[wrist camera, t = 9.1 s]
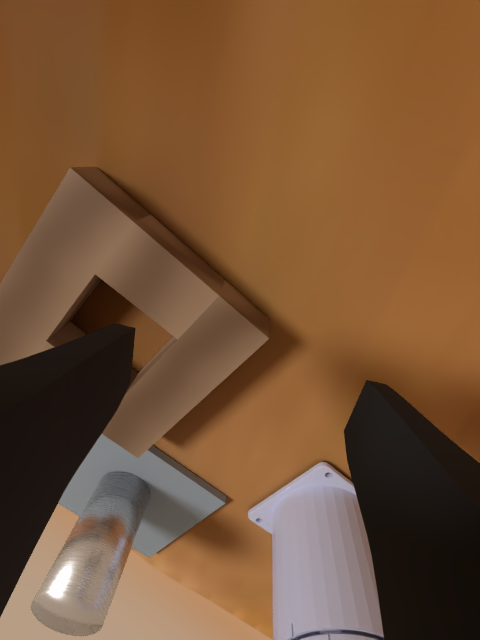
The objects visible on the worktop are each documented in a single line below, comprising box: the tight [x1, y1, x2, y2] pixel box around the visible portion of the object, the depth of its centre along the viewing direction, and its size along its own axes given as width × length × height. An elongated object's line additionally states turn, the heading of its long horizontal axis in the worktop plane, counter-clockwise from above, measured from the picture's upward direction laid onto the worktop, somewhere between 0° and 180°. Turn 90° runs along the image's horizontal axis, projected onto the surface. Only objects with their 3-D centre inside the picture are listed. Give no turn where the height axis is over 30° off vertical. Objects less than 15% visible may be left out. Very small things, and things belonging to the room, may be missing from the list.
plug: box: [31, 471, 150, 636], centre depth 22 cm, size 4×4×8 cm
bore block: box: [0, 167, 269, 458], centre depth 20 cm, size 12×12×2 cm
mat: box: [58, 434, 226, 558], centre depth 26 cm, size 12×10×1 cm
